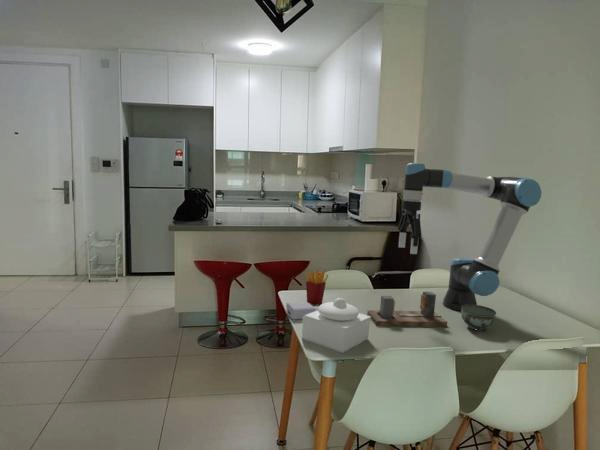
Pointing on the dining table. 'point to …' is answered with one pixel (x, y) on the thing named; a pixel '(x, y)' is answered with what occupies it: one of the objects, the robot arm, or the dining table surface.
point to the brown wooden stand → (412, 315)
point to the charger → (299, 309)
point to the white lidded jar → (336, 326)
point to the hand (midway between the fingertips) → (407, 250)
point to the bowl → (477, 316)
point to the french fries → (315, 287)
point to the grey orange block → (387, 307)
